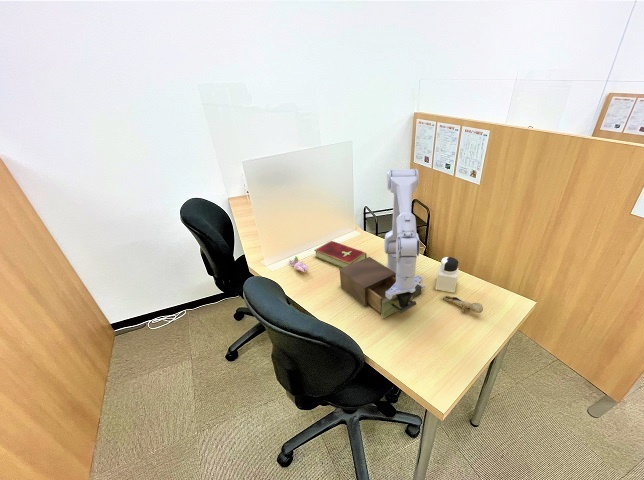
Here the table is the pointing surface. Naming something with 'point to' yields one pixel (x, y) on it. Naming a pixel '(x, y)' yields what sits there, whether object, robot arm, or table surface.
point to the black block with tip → (418, 289)
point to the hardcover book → (339, 254)
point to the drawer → (385, 298)
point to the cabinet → (363, 278)
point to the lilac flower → (298, 265)
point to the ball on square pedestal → (447, 275)
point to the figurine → (465, 304)
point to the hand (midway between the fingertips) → (403, 306)
